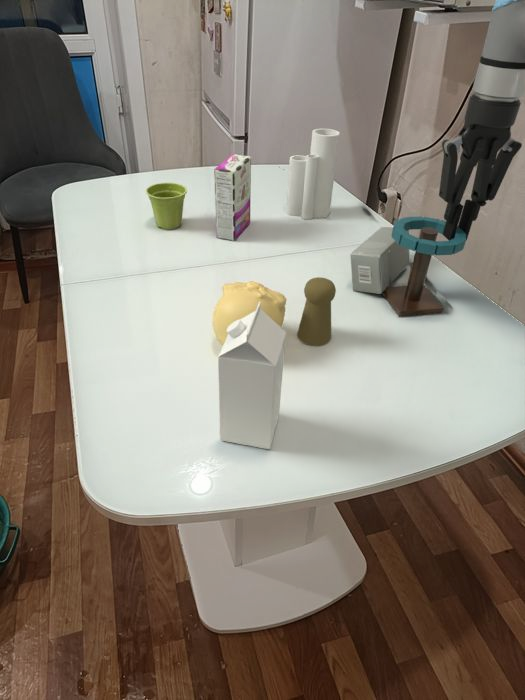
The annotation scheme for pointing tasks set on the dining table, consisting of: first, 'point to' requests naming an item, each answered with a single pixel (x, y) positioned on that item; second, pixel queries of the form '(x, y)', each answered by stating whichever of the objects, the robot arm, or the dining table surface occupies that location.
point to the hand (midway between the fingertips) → (454, 237)
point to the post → (415, 286)
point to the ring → (421, 244)
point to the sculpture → (245, 305)
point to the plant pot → (167, 204)
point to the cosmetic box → (378, 262)
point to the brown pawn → (317, 312)
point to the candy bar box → (232, 196)
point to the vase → (313, 177)
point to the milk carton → (251, 380)
